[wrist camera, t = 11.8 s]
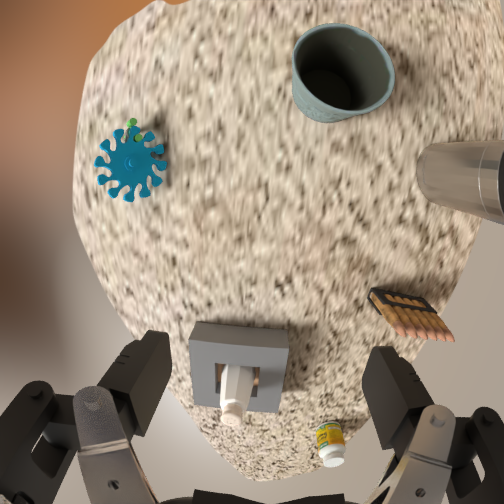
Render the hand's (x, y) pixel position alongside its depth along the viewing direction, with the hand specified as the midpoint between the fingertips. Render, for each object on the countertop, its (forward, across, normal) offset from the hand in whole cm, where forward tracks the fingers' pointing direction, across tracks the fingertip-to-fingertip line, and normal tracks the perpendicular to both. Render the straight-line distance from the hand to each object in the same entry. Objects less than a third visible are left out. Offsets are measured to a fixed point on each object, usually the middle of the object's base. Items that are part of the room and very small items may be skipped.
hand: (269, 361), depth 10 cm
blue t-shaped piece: (+28, +18, -8) cm, 35 cm away
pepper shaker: (+26, +3, +23) cm, 35 cm away
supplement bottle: (+28, -16, +41) cm, 52 cm away
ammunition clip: (+28, -21, +10) cm, 37 cm away
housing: (+28, +3, +23) cm, 36 cm away
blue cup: (+28, -6, -18) cm, 34 cm away
